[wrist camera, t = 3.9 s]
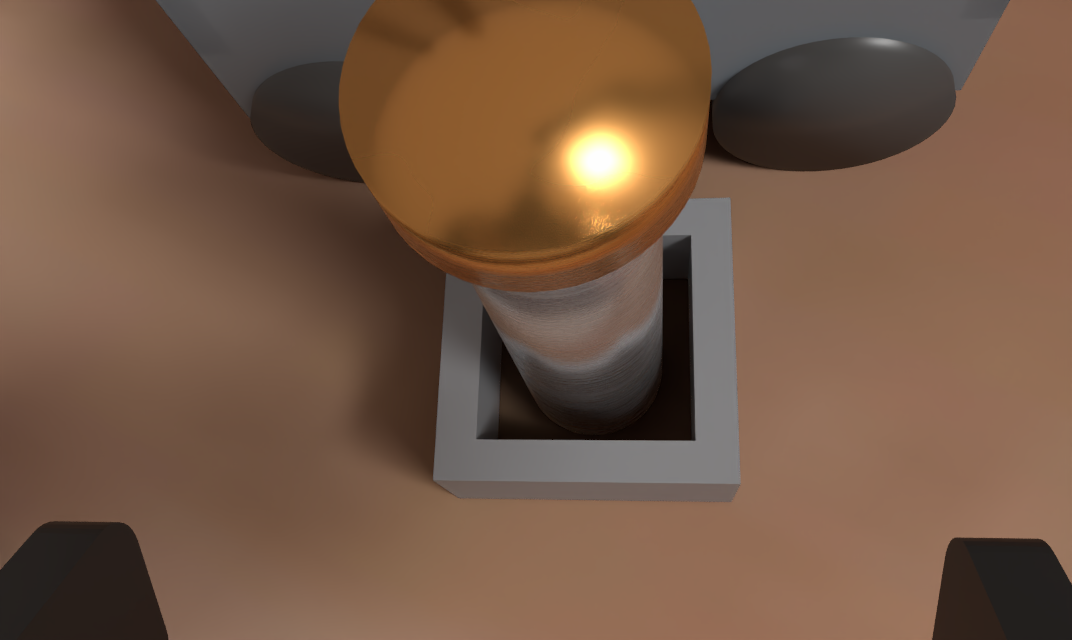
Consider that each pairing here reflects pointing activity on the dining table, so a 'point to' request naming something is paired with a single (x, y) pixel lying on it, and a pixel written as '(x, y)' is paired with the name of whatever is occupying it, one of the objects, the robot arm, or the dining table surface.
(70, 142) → the dining table surface
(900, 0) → the grey tray with sleeve
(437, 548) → the dining table surface
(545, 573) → the dining table surface
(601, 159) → the pin
